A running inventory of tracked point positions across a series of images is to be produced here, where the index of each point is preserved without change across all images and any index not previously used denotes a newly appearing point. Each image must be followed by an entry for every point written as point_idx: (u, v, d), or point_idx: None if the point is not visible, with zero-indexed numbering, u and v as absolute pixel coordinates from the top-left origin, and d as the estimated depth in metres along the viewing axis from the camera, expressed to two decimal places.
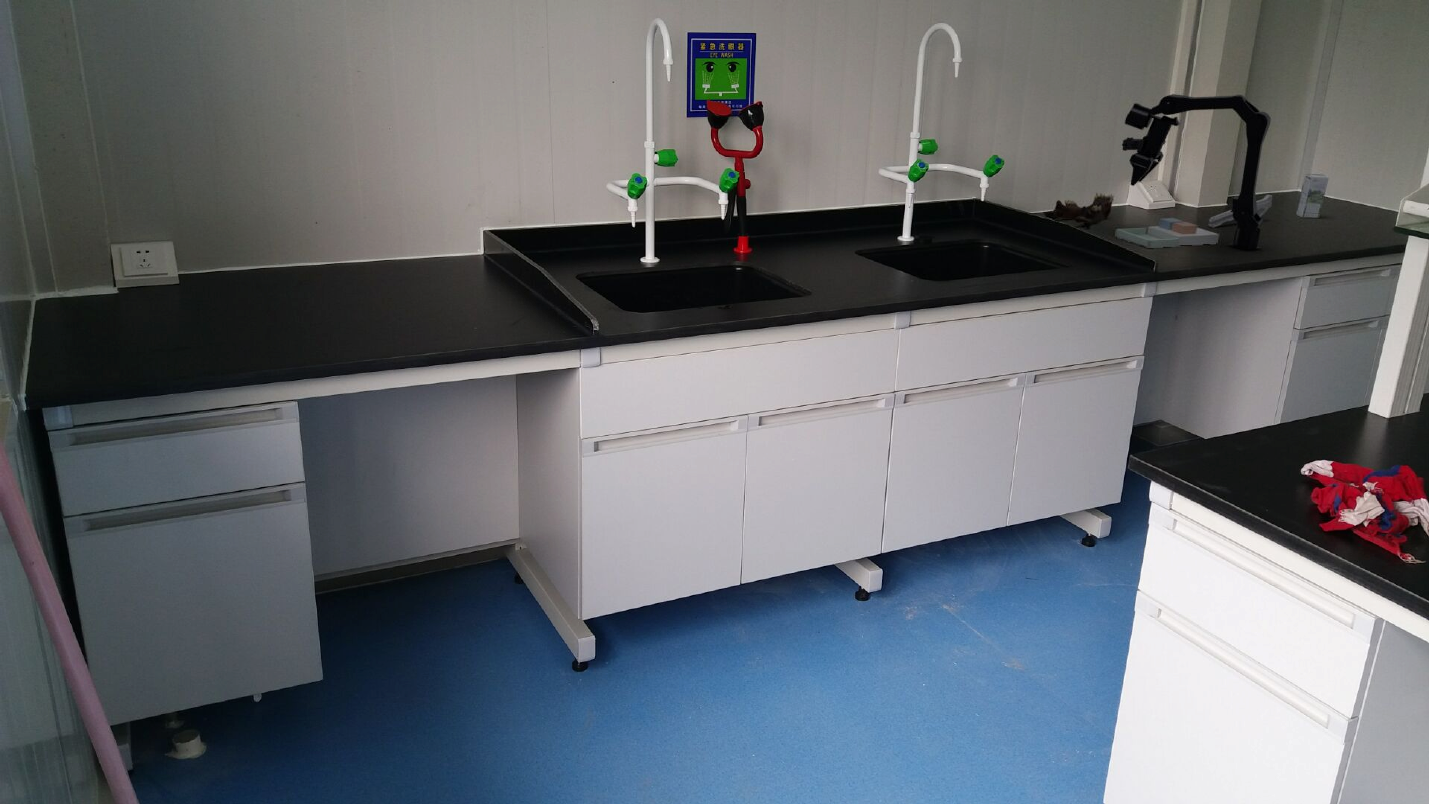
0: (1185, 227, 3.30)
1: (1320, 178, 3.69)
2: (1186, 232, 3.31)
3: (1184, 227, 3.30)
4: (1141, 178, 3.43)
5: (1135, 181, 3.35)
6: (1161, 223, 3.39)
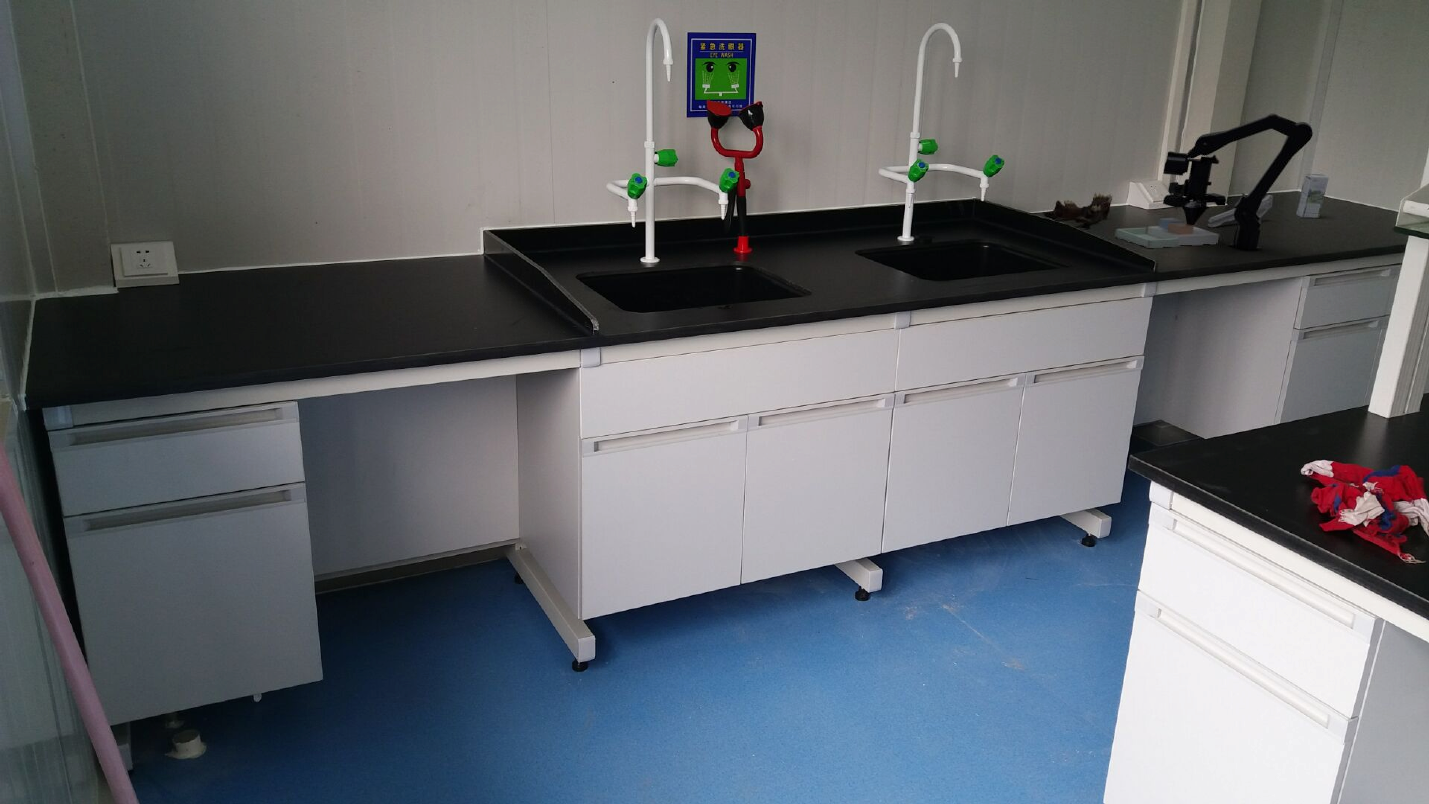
0: (1182, 227, 3.30)
1: (1320, 178, 3.69)
2: (1183, 232, 3.31)
3: (1181, 227, 3.30)
4: (1191, 224, 3.33)
5: (1189, 223, 3.33)
6: (1161, 223, 3.39)
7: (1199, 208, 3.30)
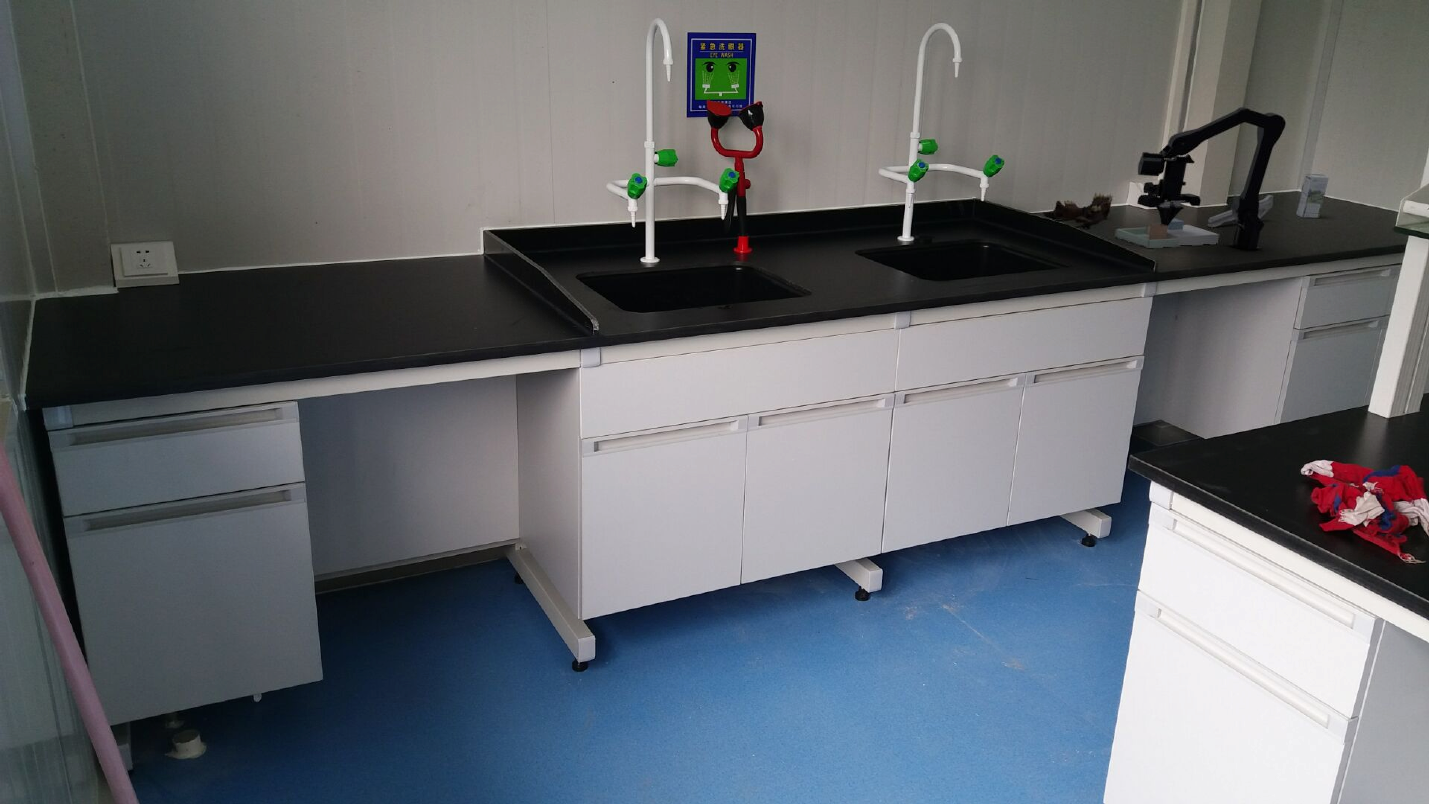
0: None
1: (1320, 178, 3.69)
2: (1165, 237, 3.30)
3: None
4: None
5: (1164, 223, 3.30)
6: None
7: (1173, 208, 3.27)
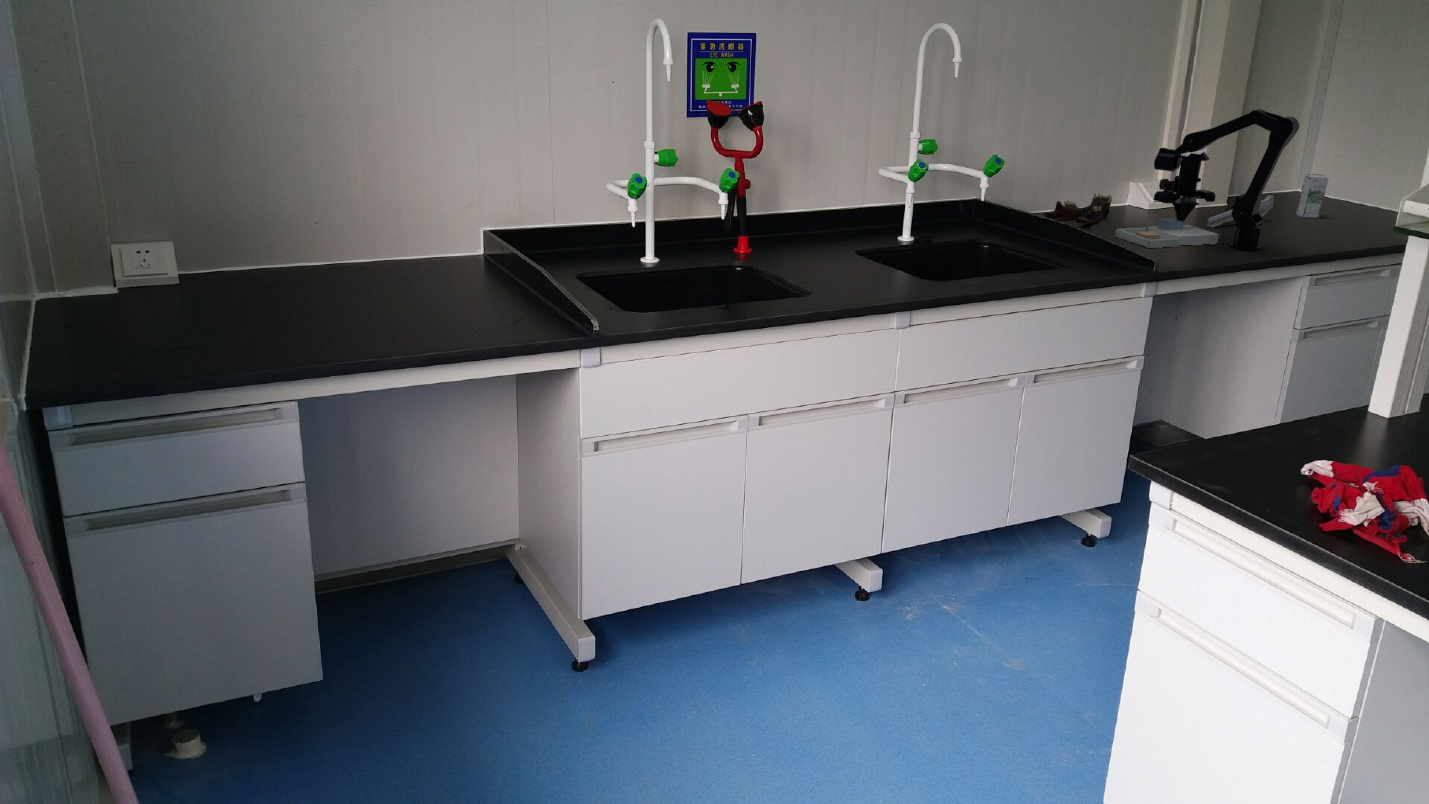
0: None
1: (1320, 178, 3.69)
2: (1156, 236, 3.29)
3: None
4: (1181, 220, 3.39)
5: (1179, 219, 3.38)
6: (1161, 223, 3.39)
7: (1189, 204, 3.36)
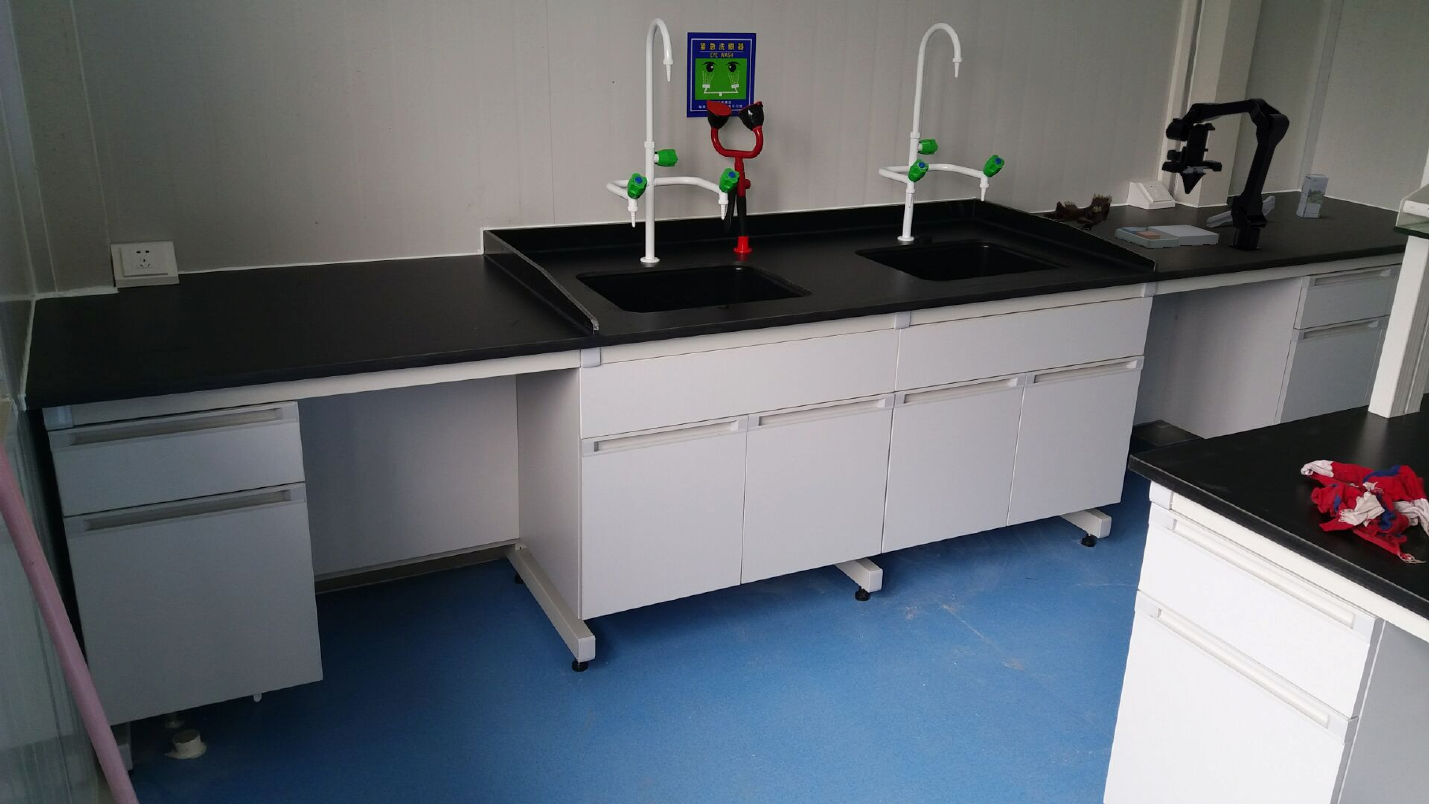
0: None
1: (1320, 178, 3.69)
2: (1156, 236, 3.29)
3: None
4: None
5: (1187, 189, 3.43)
6: None
7: (1196, 174, 3.41)
